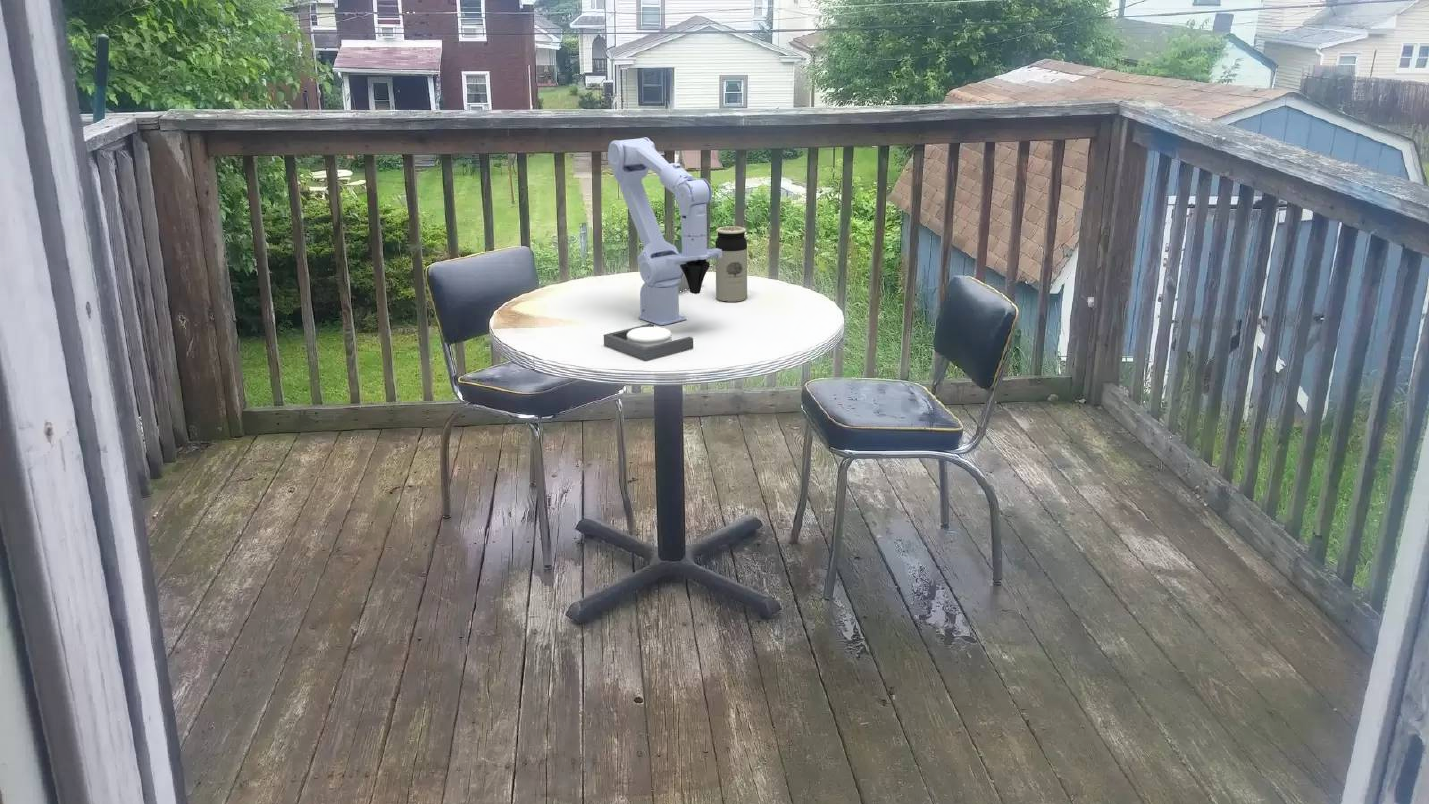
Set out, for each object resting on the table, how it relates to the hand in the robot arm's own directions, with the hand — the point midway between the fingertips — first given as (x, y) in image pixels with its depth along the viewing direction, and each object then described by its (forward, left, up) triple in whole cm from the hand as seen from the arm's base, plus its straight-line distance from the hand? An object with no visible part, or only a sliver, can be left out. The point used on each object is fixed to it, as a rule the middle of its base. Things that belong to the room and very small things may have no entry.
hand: (695, 292), depth 257 cm
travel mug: (-17, +25, -9) cm, 32 cm away
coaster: (+2, -15, -10) cm, 18 cm away
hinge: (-32, +20, -10) cm, 39 cm away
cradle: (+2, -16, -9) cm, 18 cm away
